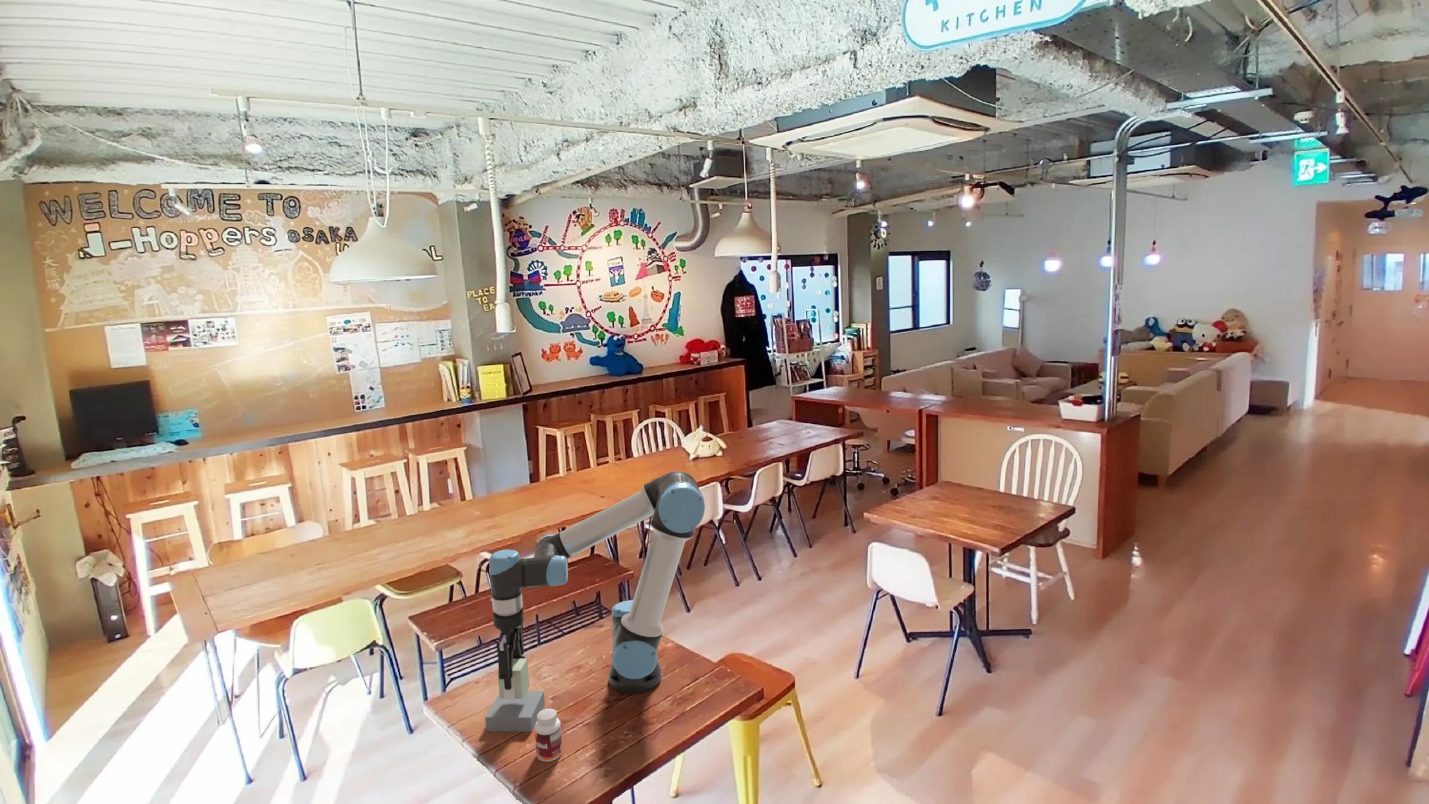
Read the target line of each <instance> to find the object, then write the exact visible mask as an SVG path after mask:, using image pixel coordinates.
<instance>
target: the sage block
mask: <svg viewBox="0 0 1429 804" xmlns="http://www.w3.org/2000/svg"><path fill="white" fill-rule="evenodd" d="M512 675H514V683H515V696H516V698H515V699H523V697H524V695H525V693H526V692H527V691H529V688H530V679H529V677H530V676H529V666H528V658H525V659H513V670H512ZM497 680H498V691H499V692H498V695H499V694H500V699H504V686H503V679H499V668H498V669H497Z"/></svg>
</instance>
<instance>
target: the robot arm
mask: <svg viewBox="0 0 1429 804" xmlns="http://www.w3.org/2000/svg"><path fill="white" fill-rule="evenodd" d="M705 505H706V504H705V498H704V496H703V494H702V492H701V491H700V488H699V485H698V482H697V481H696V479H695V478H694V477H693V476H691V474H689V473H687V472H685V471H677V470H676V471H669V472H667V473H665V474H662V475H660V476H657V477H656V478H654V479H652V480H650V481H649V482H647V483H645V484H643V485H642V487H641V489H640V491H637V492H635V493H634V494H632V495H630V496H628V497H626V498H624V499H622V500H620V501H618V502H617V503H615V504H612V505H610V506H609V507H606V508H605V509H603V510H601V511H599V512H597V513H595V514H593V515H591V516H589V517H587V518H585V519H584V520H581V521H580V522H578V523H575V524H574V525H572V526H570V527H568V528H566V529H564V530H562V531H560V532H558V533H555V534H546V535H544V536H542V537H541V538H540V539H539V540H538V542H537V544H536V545H535V549H534V554H533V557H525V558H524V557H523V558H522V557H520V553H519V552H518V551H517V550H514V549H510V548H509V549H500V550H498V551H495V552H493V553H492V554H491V555H490V556H489V558H488V559H489V562H488V564H489V573H488V574H489V583H490V592H491V597H490V602H491V603H492V611H493V613H492V617H493V620H492V621H493V626H494V627H495V629H498V630H500V634H499V640H500V642H497V643H496V650H497V664H498V669H499V679H503V686H504V699H505V700H515V698H516V696H515V683H514V675H512V670H513V659H526V656H524V655H525V647H524V636H523V635H524V634H523V624H524V621H525V619H524V618H525V617H524V609H523V607H524V603H523V593H522V589H528V588H541V587H556V586H557V587H558V586H562V585H565V584H567V583H568V578H569V576H568V575H569V569H568V568H569V567H568V560H569V559H570V558H572V557H574V556H577V555H578V554H580V553H582V552H584V551H586V550H587V549H589V548H592V547H594V546H595V545H597V544H599V543H601V542H603V541H605V540H607V539H609V538H611V537H613V536H616V535H617V534H619V533H621V532H623V531H625V530H627V529H628V528H631V527H633V526H634V525H636V524H638V523H640V522H642V521H644V520H646V519H649V518H651V517H652V518H651V522H650V526H651V528H652V530H653V534H652V537H651V542H650V544H649V546H648V550H647V554H646V557H645V560H644V564H643V567H642V571H641V574H640V577H639V580H638V584H637V586H636V590H635V593H634V597H633V599H629V600H625V601H621V602H618V603H616V604H615V605H613V607H612V608H611V614H610V615H611V616H610V617H611V621H612V622H611V623H612V627H611V628H612V653H611V664H610V668H609V672H608V683H609V685H610V687H612V688H613V689H614V690H616V691H619V692H621V693H628V694H634V693H635V694H637V693H638V694H639V693H643V692H646V691H648V690H651V689H653V688H655V687H656V686H658V684H659V683H661V680H662V666H661V665H660V663H659V659H658V657H659V655H658V649H659V645H660V642H661V639H662V635H663V633H664V627H663V625H662V624H661V620H662V618H663V615H664V612H665V611H664V610H665V607H666V604H667V600H668V597H669V594H670V591H671V587H672V585H673V582H674V579H675V576H676V573H677V569H678V566H679V564H680V561H681V556H682V554H683V551H684V547H685V545H686V541H689V540H691V539H693V537H694V535H695V532H696V528H697V527H698V526H699V525H700V524H701V522H702V521H703V517H704V515H705V508H706V507H705Z"/></svg>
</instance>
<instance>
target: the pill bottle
mask: <svg viewBox="0 0 1429 804" xmlns="http://www.w3.org/2000/svg"><path fill="white" fill-rule="evenodd" d="M561 725H562V724H561V721H560V719H559V717H558V714H557V710H555V709H553V708H545V709H544V708H543V710H542V711H540V712H539V713H538V714H537V722H536V724H535V727H534V736H535V738H534V739H535V750H536V751H535V752H536V753H535V754H536V758H537V759H538V760H539V761H541V762H546V763H547V762H548V763H549V762H553V761H556V760H557V759H559V757H560V756H561V755H562V753H563V743H562V742H563V741H562V728H561V727H562V726H561Z"/></svg>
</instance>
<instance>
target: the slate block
mask: <svg viewBox="0 0 1429 804" xmlns="http://www.w3.org/2000/svg"><path fill="white" fill-rule="evenodd" d="M545 705H546V701H545V691H544V690H527V692H526V693H525V695H524V697H523V699H515V700H505V699H500V694H499V693H498V695H497V697H496V698H495V700H494V701H493V703H492V705H491V707H490V708H489V710H488V712H487V714H486V715H485V716H484V717H485V718H484V720H485V729H486V732H520V733H521V732H525V733H526V732H528V733H529V732H533V731H534V730H535V724H536V722H537V714H538V713H539V712H540V711H542V710H544V707H545Z"/></svg>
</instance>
